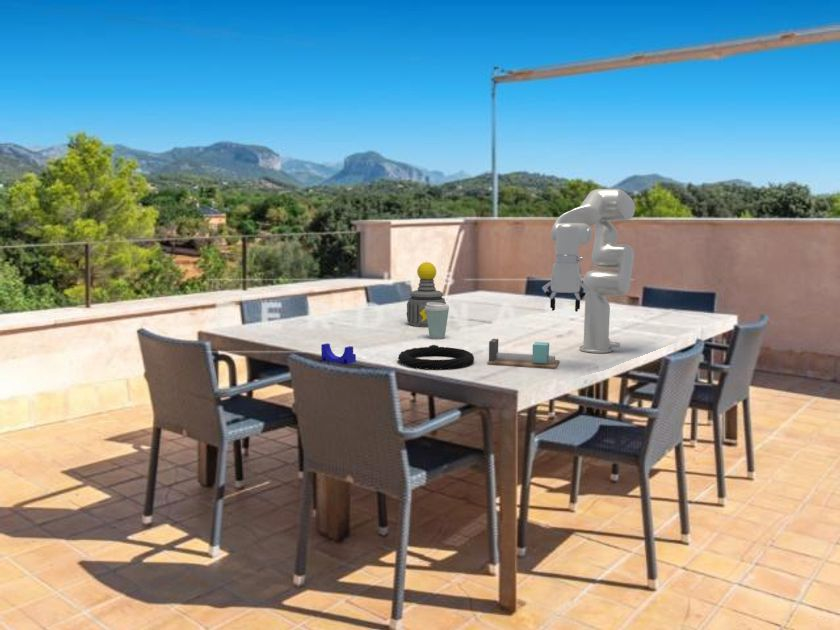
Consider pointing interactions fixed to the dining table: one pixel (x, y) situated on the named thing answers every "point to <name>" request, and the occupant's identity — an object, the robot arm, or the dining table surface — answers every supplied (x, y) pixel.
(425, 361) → the cable lock
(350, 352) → the cable clip
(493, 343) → the stop
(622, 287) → the robot arm
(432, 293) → the decorative lamp
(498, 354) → the rail
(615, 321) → the dining table surface
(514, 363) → the board
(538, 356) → the slider
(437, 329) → the disposable coffee cup
